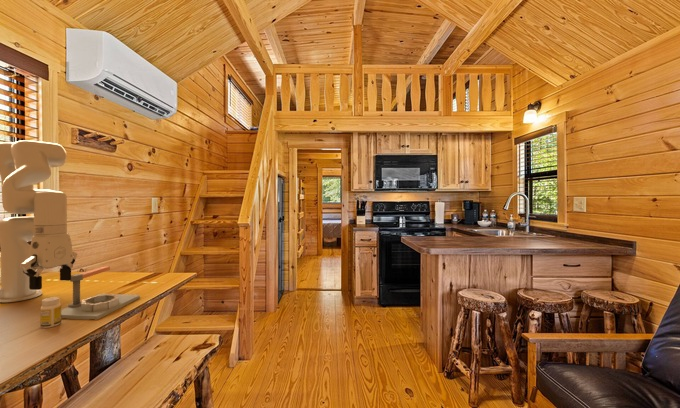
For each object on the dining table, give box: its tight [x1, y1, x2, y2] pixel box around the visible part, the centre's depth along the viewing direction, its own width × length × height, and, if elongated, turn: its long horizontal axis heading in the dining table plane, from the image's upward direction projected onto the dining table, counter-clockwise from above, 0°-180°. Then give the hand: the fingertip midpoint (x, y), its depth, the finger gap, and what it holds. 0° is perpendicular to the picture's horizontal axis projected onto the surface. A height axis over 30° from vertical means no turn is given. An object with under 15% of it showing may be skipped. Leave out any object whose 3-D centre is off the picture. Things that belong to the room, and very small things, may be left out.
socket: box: [80, 293, 118, 312], centre depth 109 cm, size 10×10×2 cm
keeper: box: [69, 265, 111, 283], centre depth 115 cm, size 16×4×2 cm, turn 179°
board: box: [61, 281, 141, 321], centre depth 111 cm, size 21×17×10 cm
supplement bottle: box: [39, 296, 62, 329], centre depth 96 cm, size 5×5×8 cm
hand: (51, 284), depth 95 cm, fingers open, 9 cm apart
